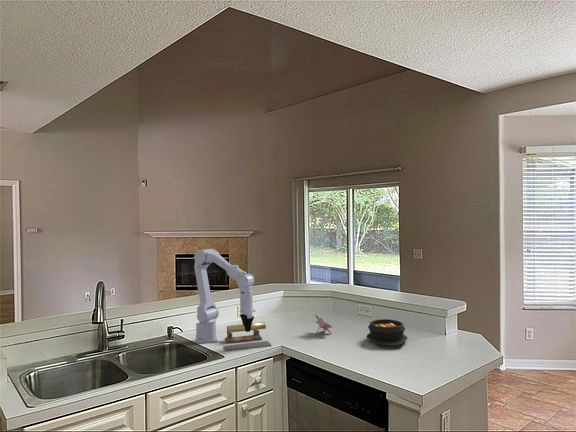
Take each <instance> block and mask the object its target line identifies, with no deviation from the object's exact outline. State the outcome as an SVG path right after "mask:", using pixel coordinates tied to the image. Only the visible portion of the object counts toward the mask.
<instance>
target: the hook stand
mask: <svg viewBox="0 0 576 432" xmlns="http://www.w3.org/2000/svg"><path fill="white" fill-rule="evenodd" d="M228 326H229V325H227V326H226V337H224V341H225V343H226V345H231V344H240V343H249V342H255V341H256V342H258V341H263V337H262V336H261V335H260V329H259V330H252V331H253V334H251V335H249V334H247V335H240V336H239V335H238V336H233V332H230V333H229V332H228Z"/></svg>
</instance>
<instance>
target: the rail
mask: <svg viewBox="0 0 576 432" xmlns="http://www.w3.org/2000/svg"><path fill="white" fill-rule="evenodd" d="M227 326H228V332H229V333H230V332H231V333H238V332H239V333H241V332H246V331H245V327H244V324H243V323H242V324H235V325H232V324H231V325H227ZM265 329H267V324H266V322H265V321H264V322H252V325H251V330H250V331H253V330H259V331H260V330H265Z"/></svg>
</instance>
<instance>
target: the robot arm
mask: <svg viewBox="0 0 576 432" xmlns="http://www.w3.org/2000/svg"><path fill="white" fill-rule="evenodd" d="M193 257H194V266H193V267H194V268H193V269H194V272H195V274H194V275H195V278H196V285H197V291H198V297H199V298H198V299H199V305H198V306H197V308H196V309H197V310H196V311H197V312H196V319H197V320H198V322H196V323H195V324H196V325H195V328H196V329H195V332H196V333H195V340H196V343H197V344H205V343H214V342H215V343H216V342H218V341H219V340H218V337H217V327H216V324H217V323H216V321H217V319H218V317H219V315H220V314H219V310H218V307H217V304H216V302H214V301H213V299H212V294H211V289H210V284H209V282H210V281H209V278H208V272H207V269H208V267H209V266H210V265H211V264H212V263H215V265H216V266H219V267H220V268H221V269H223V270H225V271H226V274H227V276H228V277H230V278H231V279H232V280H233V281H235V282H236V284H237V287H238V290H239V313H240V314H239V317H240V320H241V322H242V324H244V327H245V331H244V332H246V333H250V332H251V331H252V330H251V325H252V323H253V321H254V320H255V316H254V315H253V313H255V312H256V309H255V308H254V307H253V305H254V304H253V286H254V284H255V282H256V281H255V277H254V275H253V274H252V273H247V272H246V271H244V270H243V269H241V268H240V267H239V265H237V264H231V263H230V262H229V261H227V260H226V259H225V258H224V257H223V256H222V255H221V254H220V253H219V251H217V250H216V249H214V248H213V247H212V248H207V249H199V250H196V252H195V254H194V255H193Z"/></svg>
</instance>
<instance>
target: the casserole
mask: <svg viewBox="0 0 576 432" xmlns="http://www.w3.org/2000/svg"><path fill="white" fill-rule="evenodd" d="M367 329H368V330H369V333H367V335H366V338H367V339H368V340H369V341H372V342H373V343H375V344H377V345H381V346H391V347H392V346H401V345H403V344H404V343H405V341H407V340H408V336H407V335H405V334H404V331H406V327H405V326H404V323H403V322H402V321H399V320H395V319H386V318H385V319H384V318H383V319H375V320H372V321H370V323H369V325H368V326H367Z"/></svg>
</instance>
